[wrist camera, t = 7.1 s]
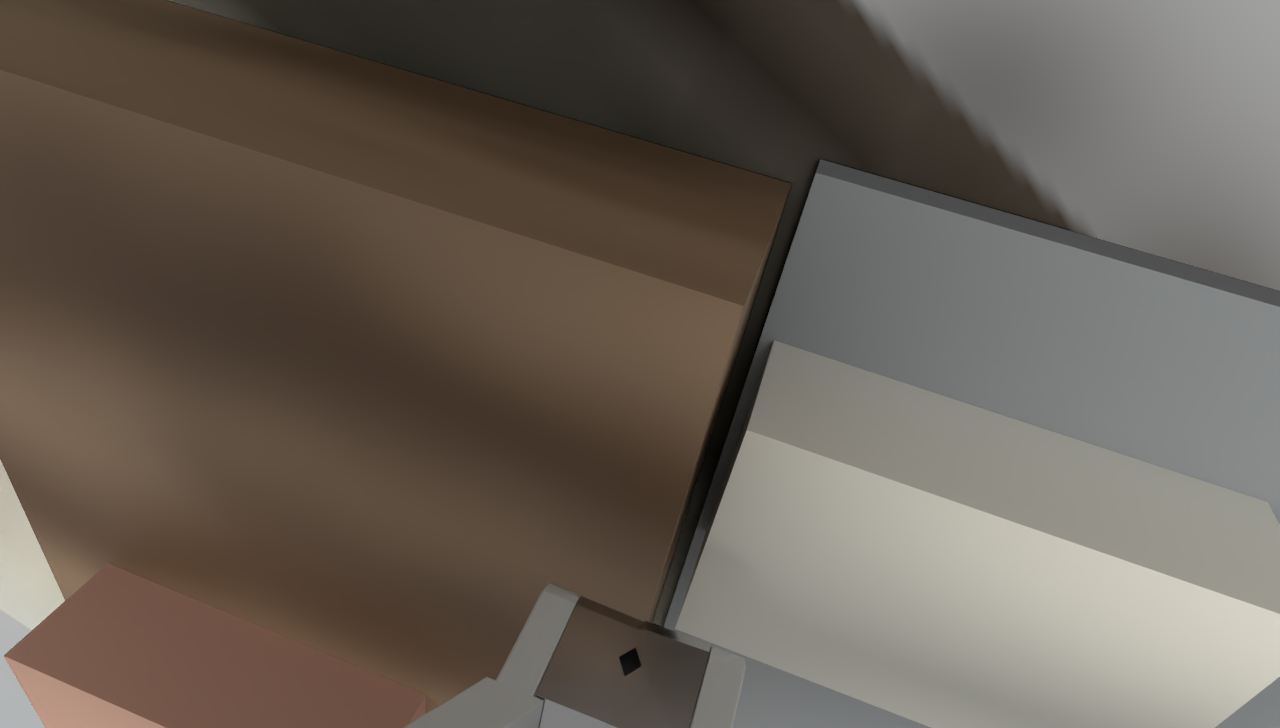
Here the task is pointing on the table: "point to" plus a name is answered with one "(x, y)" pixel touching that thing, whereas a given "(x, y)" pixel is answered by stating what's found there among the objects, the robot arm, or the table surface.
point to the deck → (351, 334)
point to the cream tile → (979, 563)
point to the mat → (1017, 361)
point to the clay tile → (188, 668)
